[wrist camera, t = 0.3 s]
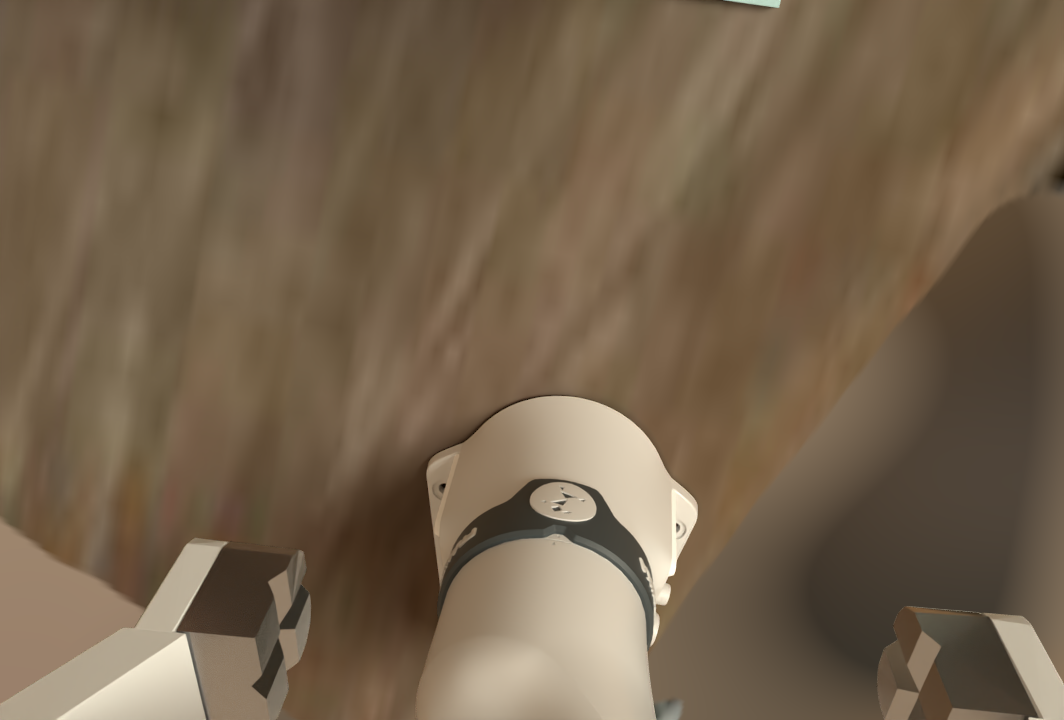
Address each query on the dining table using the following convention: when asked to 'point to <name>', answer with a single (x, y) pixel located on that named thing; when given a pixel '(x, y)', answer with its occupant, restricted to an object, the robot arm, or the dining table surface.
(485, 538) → the robot arm
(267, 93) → the dining table surface
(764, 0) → the press frame
